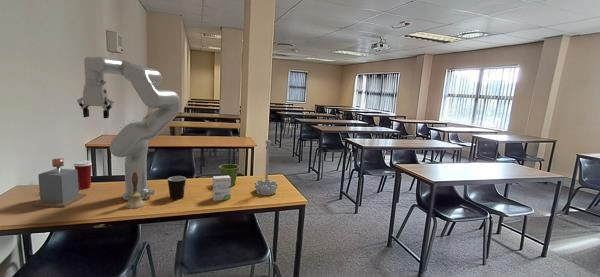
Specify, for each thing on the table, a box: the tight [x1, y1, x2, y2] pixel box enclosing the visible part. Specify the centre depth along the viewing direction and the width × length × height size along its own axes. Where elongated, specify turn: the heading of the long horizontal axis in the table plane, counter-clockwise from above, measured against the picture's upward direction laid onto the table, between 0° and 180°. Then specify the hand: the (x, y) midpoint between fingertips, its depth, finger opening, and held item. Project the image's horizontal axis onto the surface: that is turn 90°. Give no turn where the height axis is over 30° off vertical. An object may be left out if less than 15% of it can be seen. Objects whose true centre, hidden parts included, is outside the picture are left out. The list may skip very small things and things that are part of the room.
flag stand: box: [254, 139, 279, 196], centre depth 167 cm, size 13×13×30 cm
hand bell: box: [124, 172, 146, 210], centre depth 138 cm, size 8×8×16 cm
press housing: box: [31, 168, 87, 208], centre depth 138 cm, size 14×14×14 cm
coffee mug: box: [167, 175, 187, 201], centre depth 153 cm, size 12×9×10 cm
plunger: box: [51, 158, 65, 173], centre depth 138 cm, size 7×7×18 cm
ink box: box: [212, 175, 232, 202], centre depth 154 cm, size 9×5×12 cm, turn 113°
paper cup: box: [73, 160, 93, 190], centre depth 157 cm, size 8×8×14 cm
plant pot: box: [218, 163, 240, 187], centre depth 177 cm, size 12×12×11 cm
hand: (96, 117), depth 150 cm, fingers open, 9 cm apart
